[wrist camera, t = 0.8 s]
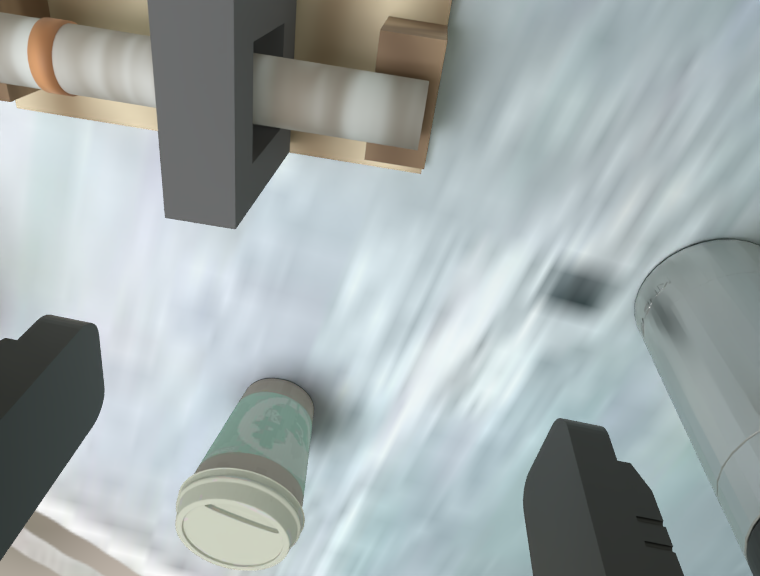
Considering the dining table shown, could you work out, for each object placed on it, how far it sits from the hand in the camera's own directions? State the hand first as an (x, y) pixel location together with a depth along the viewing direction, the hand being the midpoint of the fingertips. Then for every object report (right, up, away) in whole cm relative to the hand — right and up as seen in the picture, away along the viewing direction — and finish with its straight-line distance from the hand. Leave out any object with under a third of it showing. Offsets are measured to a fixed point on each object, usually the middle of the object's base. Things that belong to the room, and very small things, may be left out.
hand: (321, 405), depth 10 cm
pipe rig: (-8, +16, +22) cm, 28 cm away
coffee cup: (-7, -7, +37) cm, 38 cm away
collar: (-5, +14, +20) cm, 25 cm away
